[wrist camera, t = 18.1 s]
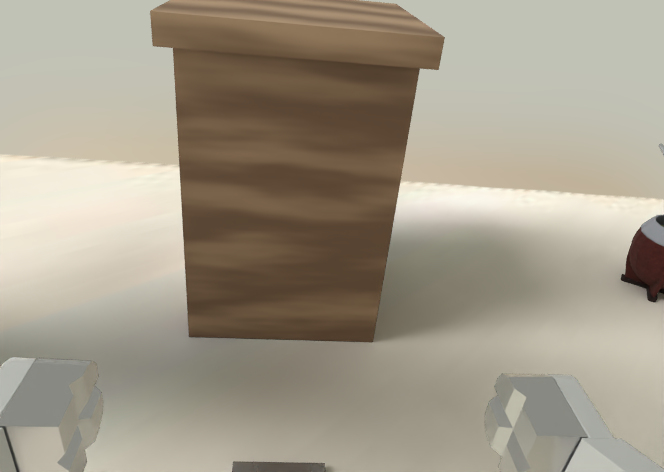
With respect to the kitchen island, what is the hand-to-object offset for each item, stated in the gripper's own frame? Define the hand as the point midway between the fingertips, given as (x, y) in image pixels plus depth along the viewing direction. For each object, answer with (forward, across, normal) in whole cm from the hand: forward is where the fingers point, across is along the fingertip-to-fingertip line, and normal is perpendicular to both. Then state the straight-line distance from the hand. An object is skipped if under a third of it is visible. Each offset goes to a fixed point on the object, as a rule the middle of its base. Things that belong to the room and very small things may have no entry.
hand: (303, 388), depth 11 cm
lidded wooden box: (+35, 0, +23) cm, 42 cm away
